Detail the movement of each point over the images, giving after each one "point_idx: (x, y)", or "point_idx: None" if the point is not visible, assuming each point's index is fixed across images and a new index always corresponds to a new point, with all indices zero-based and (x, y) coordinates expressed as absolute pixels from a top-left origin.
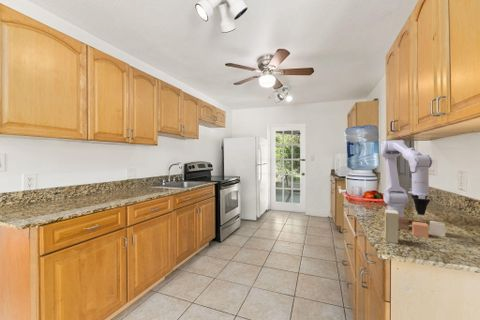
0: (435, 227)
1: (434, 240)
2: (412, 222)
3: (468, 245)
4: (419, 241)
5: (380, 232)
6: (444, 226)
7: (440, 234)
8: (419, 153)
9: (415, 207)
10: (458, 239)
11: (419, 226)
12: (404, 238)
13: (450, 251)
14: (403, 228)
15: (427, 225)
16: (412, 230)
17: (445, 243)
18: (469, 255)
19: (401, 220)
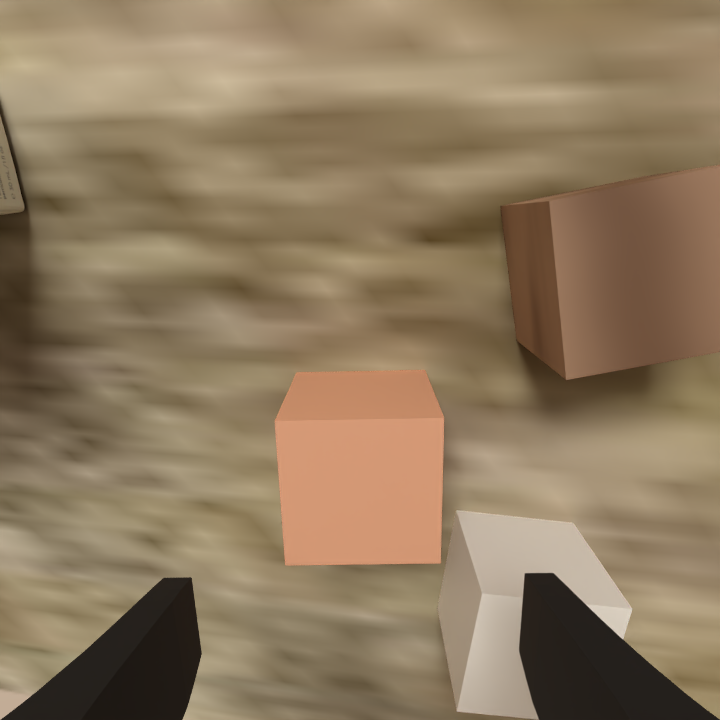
0: (461, 606)
1: (246, 522)
2: (420, 415)
3: (275, 704)
4: (114, 410)
5: (170, 22)
6: (455, 693)
7: (446, 590)
8: None
9: (556, 617)
10: (410, 677)
11: (280, 475)
12: (114, 288)
13: (10, 585)
14: (512, 288)
15: (324, 561)
16: (413, 377)
17: (212, 583)
18: (15, 669)
19: (545, 279)
